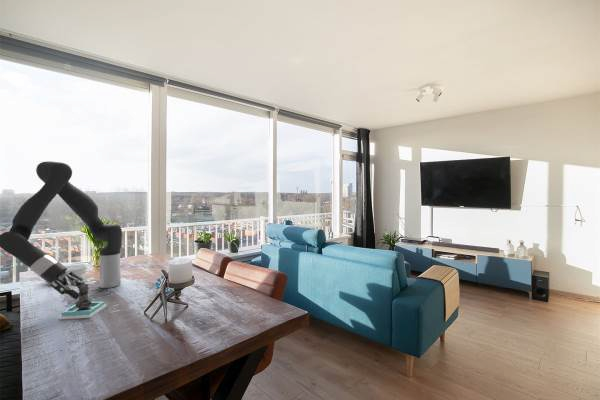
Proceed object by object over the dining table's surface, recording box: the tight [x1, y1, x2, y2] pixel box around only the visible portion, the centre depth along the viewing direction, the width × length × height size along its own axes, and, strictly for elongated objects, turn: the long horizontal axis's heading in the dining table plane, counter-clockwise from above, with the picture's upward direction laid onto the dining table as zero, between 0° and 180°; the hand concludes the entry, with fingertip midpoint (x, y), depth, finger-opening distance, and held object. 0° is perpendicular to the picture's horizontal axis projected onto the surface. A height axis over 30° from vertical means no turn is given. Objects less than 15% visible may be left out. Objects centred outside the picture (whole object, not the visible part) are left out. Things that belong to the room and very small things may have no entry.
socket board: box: [58, 301, 108, 320], centre depth 119 cm, size 12×12×2 cm
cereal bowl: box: [64, 263, 88, 278], centre depth 165 cm, size 17×17×7 cm
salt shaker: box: [74, 281, 93, 311], centre depth 118 cm, size 6×6×12 cm
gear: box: [155, 275, 173, 292], centre depth 146 cm, size 11×6×10 cm
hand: (82, 293), depth 118 cm, fingers open, 8 cm apart
